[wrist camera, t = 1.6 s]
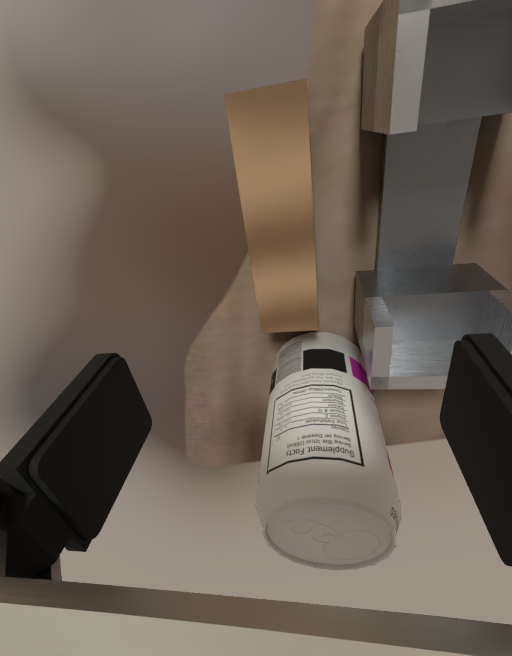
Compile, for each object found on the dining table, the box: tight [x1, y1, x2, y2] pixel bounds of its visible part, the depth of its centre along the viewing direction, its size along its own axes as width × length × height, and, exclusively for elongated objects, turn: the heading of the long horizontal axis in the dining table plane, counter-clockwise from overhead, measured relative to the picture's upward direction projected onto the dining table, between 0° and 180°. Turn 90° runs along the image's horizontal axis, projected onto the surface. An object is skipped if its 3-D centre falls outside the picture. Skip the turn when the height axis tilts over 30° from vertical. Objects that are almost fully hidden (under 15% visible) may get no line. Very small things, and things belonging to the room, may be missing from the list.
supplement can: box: [255, 332, 401, 570], centre depth 24 cm, size 8×8×15 cm
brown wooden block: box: [224, 79, 319, 333], centre depth 21 cm, size 14×4×5 cm, turn 8°
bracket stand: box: [354, 0, 512, 390], centre depth 18 cm, size 19×8×8 cm, turn 7°
